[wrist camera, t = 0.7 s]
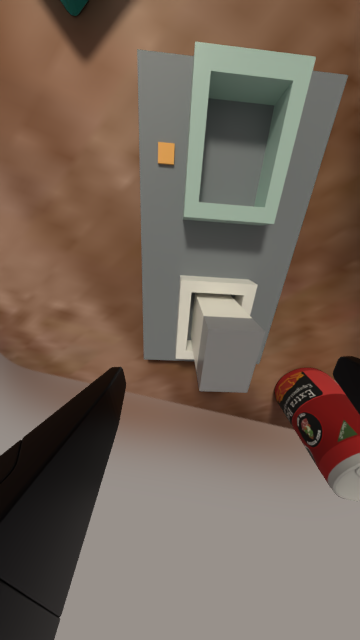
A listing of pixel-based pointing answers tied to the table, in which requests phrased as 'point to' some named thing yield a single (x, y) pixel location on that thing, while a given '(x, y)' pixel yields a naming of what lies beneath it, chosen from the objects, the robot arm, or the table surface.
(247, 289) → the frame
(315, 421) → the canned food
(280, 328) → the table surface
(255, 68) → the port
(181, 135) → the panel board
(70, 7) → the digital multimeter
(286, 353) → the table surface
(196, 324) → the plug
